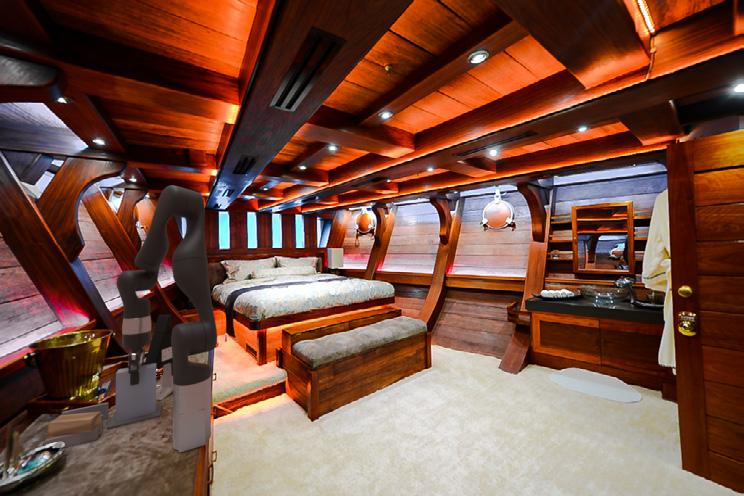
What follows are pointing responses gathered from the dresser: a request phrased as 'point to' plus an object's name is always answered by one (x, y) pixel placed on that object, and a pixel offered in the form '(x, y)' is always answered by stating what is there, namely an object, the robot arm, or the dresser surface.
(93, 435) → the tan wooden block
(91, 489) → the dresser surface
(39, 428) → the dresser surface
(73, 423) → the offcut upper
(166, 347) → the award
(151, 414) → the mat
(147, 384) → the sheet
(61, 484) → the dresser surface
